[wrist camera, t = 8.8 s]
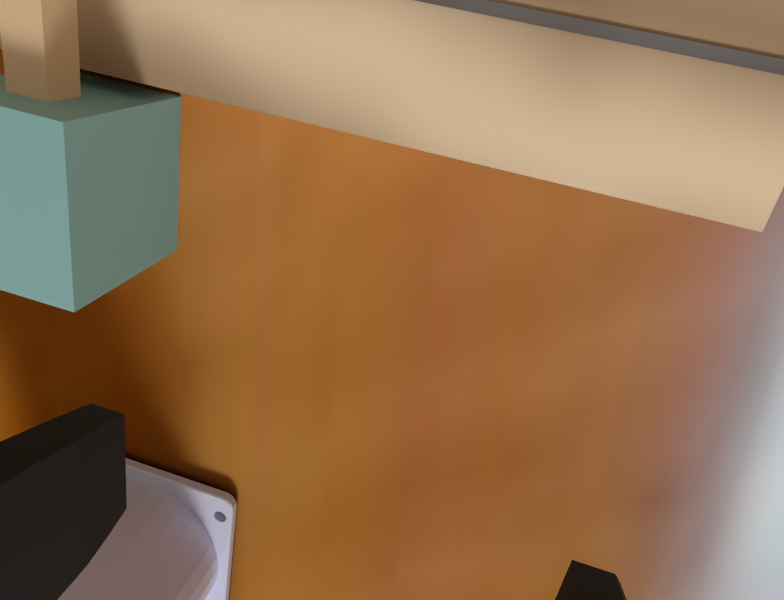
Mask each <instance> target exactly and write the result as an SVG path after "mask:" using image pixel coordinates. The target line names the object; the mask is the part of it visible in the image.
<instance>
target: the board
mask: <svg viewBox="0 0 784 600" xmlns="http://www.w3.org/2000/svg"><path fill="white" fill-rule="evenodd" d="M77 20H78V42H79V64H80V69H83V70H87V71H91V72H96V73H100V74H104V75H108V76H112V77H116V78H121V79H125V80H129V81H133V82H137V83H141V84H146V85H150V86H154V87H158V88H162V89H167V90H171V91H175V92H179V93H183V94H187V95H192V96H196V97H200V98H204V99H208V100H212V101H217V102H221V103H225V104H229V105H233V106H237V107H242V108H246V109H250V110H254V111H258V112H263V113H267V114H271V115H275V116H279V117H283V118H288V119H292V120H296V121H300V122H304V123H308V124H313V125H317V126H321V127H325V128H329V129H333V130H338V131H342V132H346V133H350V134H354V135H359V136H363V137H367V138H371V139H375V140H379V141H384V142H388V143H392V144H396V145H400V146H404V147H409V148H413V149H417V150H421V151H425V152H429V153H434V154H438V155H442V156H446V157H450V158H455V159H459V160H463V161H467V162H471V163H475V164H480V165H484V166H488V167H492V168H496V169H500V170H505V171H509V172H513V173H517V174H521V175H526V176H530V177H534V178H538V179H542V180H546V181H551V182H555V183H559V184H563V185H567V186H571V187H576V188H580V189H584V190H588V191H592V192H596V193H601V194H605V195H609V196H613V197H617V198H622V199H626V200H630V201H634V202H638V203H642V204H647V205H651V206H655V207H659V208H663V209H667V210H672V211H676V212H680V213H684V214H688V215H692V216H697V217H701V218H705V219H709V220H713V221H718V222H722V223H726V224H730V225H734V226H738V227H743V228H747V229H751V230H755V231H759V232H762V231H763V229H764V227H765V225H766V223H767V221H768V219H769V217H770V214H771V212H772V210H773V208H774V206H775V204H776V202H777V200H778V197H779V195H780V193H781V191H782V189H783V187H784V0H77ZM0 50H2V43H1V33H0Z"/></svg>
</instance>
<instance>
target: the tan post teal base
mask: <svg viewBox="0 0 784 600" xmlns="http://www.w3.org/2000/svg"><path fill="white" fill-rule="evenodd" d="M0 33H1V43H2V54H3V64H4V74H5V75H0V290H2V291H6V292H9V293H12V294H15V295H19V296H22V297H25V298H28V299H32V300H35V301H38V302H41V303H45V304H48V305H51V306H55V307H58V308H61V309H64V310H68V311H71V312H76V311H78V310H79V309H81V308H83V307H84V306H86V305H88V304H89V303H91V302H93V301H94V300H96V299H97V298H99V297H101V296H102V295H104V294H106V293H107V292H109V291H111V290H112V289H114V288H116V287H117V286H119V285H121V284H122V283H124V282H125V281H127V280H129V279H130V278H132V277H134V276H135V275H137V274H139V273H140V272H142V271H144V270H145V269H147V268H149V267H150V266H152V265H153V264H155V263H157V262H158V261H160V260H162V259H163V258H165V257H167V256H168V255H170V254H172V253H173V252H175V251H177V241H178V202H179V163H180V123H181V96H177V95H173V94H168V93H164V92H160V91H156V90H152V89H148V88H144V87H140V86H135V85H131V84H127V83H123V82H119V81H115V80H111V79H107V78H102V77H98V76H94V75H90V74H86V73H82V72H80V64H79V42H78V20H77V0H0Z"/></svg>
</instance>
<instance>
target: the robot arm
mask: <svg viewBox="0 0 784 600" xmlns="http://www.w3.org/2000/svg"><path fill="white" fill-rule="evenodd" d="M236 508H237V504H236V500H235V499H234V497H233V496H232V495H231V494H229V493H227V492H225V491H222V490H219V489H216V488H213V487H210V486H207V485H204V484H201V483H198V482H195V481H192V480H189V479H186V478H184V477H181V476H178V475H175V474H172V473H169V472H166V471H163V470H160V469H157V468H154V467H151V466H148V465H145V464H142V463H139V462H136V461H133V460H131V459H128V458H125V421H124V414H121V413H118V412H115V411H112V410H109V409H106V408H103V407H99V406H96V405H93V404H89V405H87V406H84V407H81V408H79V409H76V410H74V411H71V412H69V413H66V414H64V415H62V416H59V417H57V418H54V419H52V420H50V421H47V422H45V423H43V424H40V425H38V426H36V427H33V428H31V429H29V430H26V431H24V432H22V433H19V434H17V435H15V436H13V437H10V438H8V439H6V440H3V441H1V442H0V600H228V599H229V588H230V576H231V565H232V553H233V542H234V531H235V519H236ZM221 512H222V513H221ZM555 600H626V598H625V595H624V592H623V589H622V587H621V584H620V582H619V580H618V578H617V576H616V575H615V574H613V573H610V572H607V571H604V570H601V569H598V568H595V567H592V566H589V565H586V564H583V563H579V562H576V561H573V560H572V562H571V564H570V566H569V569H568V571H567V573H566V576H565V578H564V580H563V583H562V585H561V587H560V590H559V592H558V594H557V597H556V599H555Z"/></svg>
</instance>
